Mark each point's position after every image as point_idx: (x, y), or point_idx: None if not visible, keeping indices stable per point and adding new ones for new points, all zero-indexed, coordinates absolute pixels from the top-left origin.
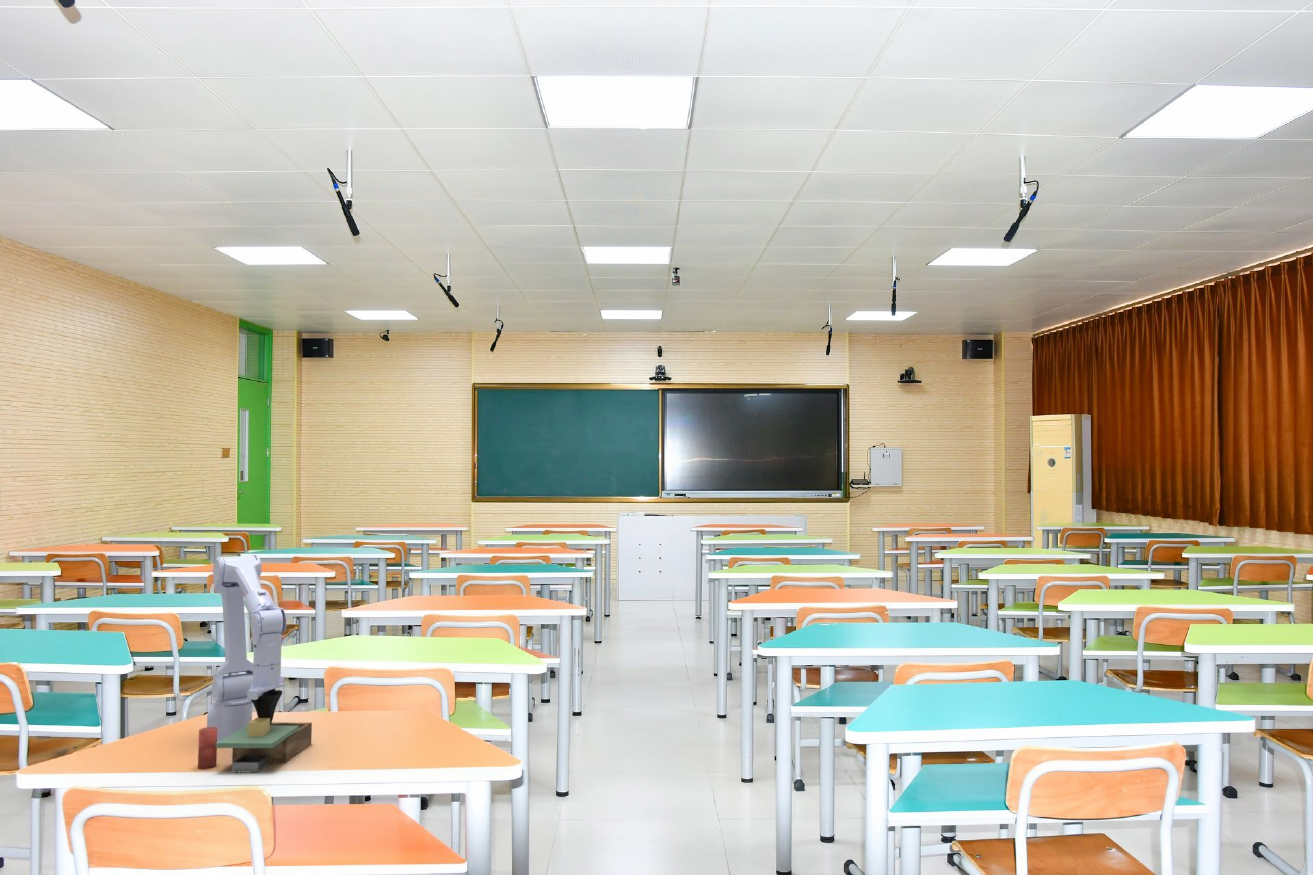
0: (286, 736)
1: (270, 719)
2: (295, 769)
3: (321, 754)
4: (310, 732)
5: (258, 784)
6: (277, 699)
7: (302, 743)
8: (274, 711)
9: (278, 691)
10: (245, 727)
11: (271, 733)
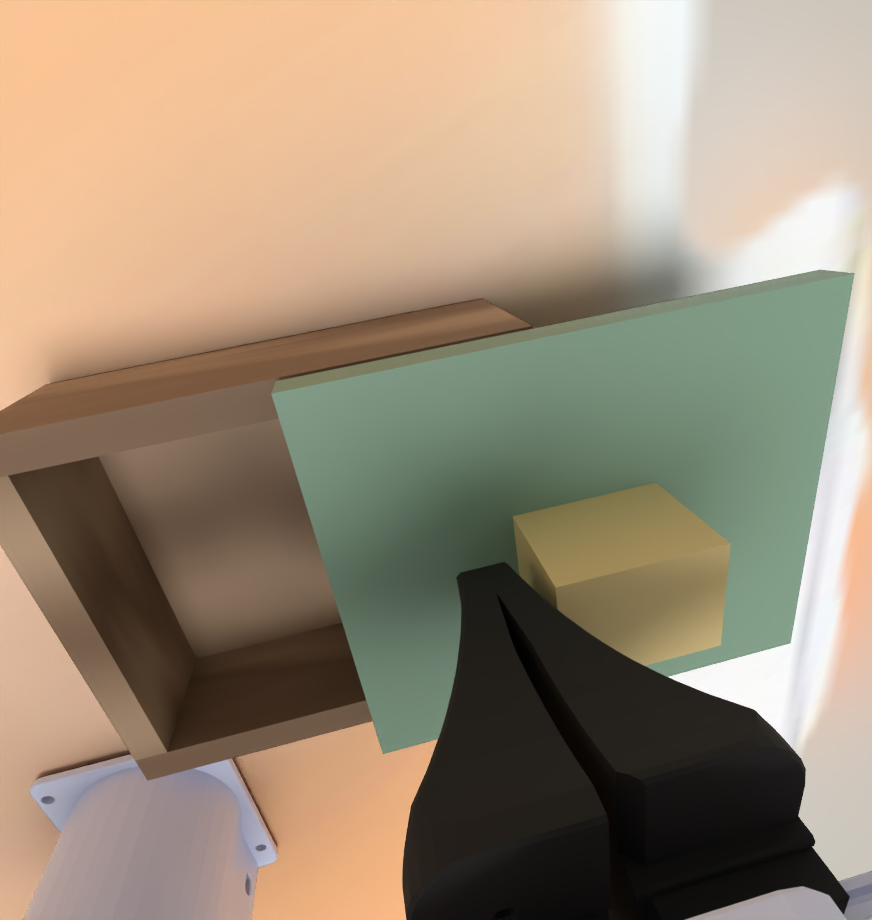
0: (553, 328)
1: (518, 585)
2: (594, 150)
3: (233, 152)
4: (21, 408)
5: (852, 219)
6: (510, 737)
7: (206, 363)
8: (469, 638)
9: (511, 879)
10: (432, 726)
11: (564, 466)
